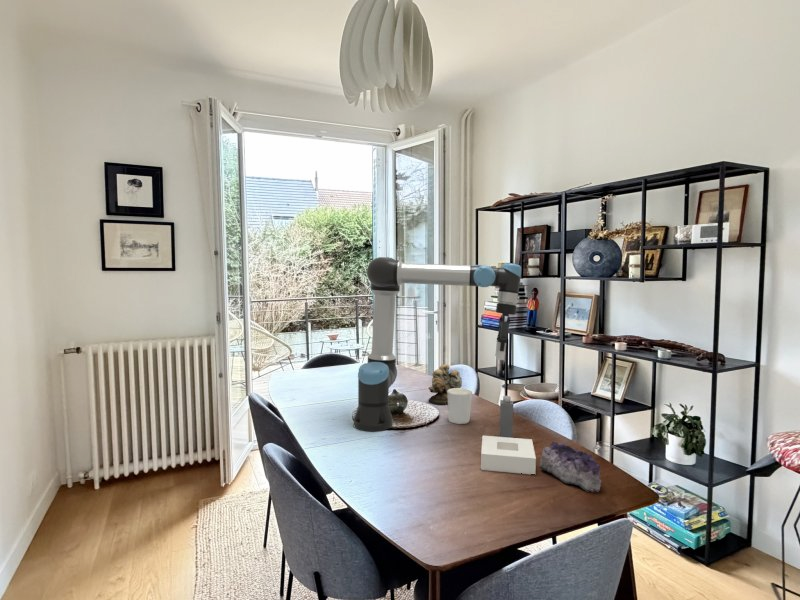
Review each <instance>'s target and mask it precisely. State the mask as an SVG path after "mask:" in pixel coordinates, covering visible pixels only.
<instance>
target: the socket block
mask: <svg viewBox="0 0 800 600" xmlns="http://www.w3.org/2000/svg"><path fill="white" fill-rule="evenodd" d="M480 453H481V454H480V471H488V472H489V471H490V472H500V473H501V472H502V473H511V474H521V473H522V474H521V475H531V474H535V475H536V465H537V457H536V452H535V447H534V443H533V439H532V438H520V437H519V438H516V437H512V438H508V437H499V436H495V435H482V439H481V452H480Z"/></svg>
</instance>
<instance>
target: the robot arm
mask: <svg viewBox="0 0 800 600" xmlns="http://www.w3.org/2000/svg"><path fill="white" fill-rule="evenodd" d="M521 275H522V266H521V265H520V264H515V263H510V262H509V263H508V262H505V263H502V264H501V267H494V266H488V265H481V264H480V265H479V264H472V265H467V264H466V265H462V264H440V263H439V264H436V263H434V264H433V263H411V262H409V263H407V262H403V261H402V260H401V259H400V260H399V259H395V258H392V257H386V256H385V257H383V256H381V257H380V256H378V257H376V258H374V259H372V260H371V261H370V262H369V264H368V266H367V269H366V276H367V278H368V279H367V280H368V281H369V282H370V283H371V285H370V290H371V292H372V294H373V297H374V299H373V301H374V302H373V317H372V319H373V320H372V322H373V323H372V339H371V340H372V343H371V352H370V353H369V355H368V356H367V363H363V364H361V365H360V366H359V368H358V373H357V378H358V382H357V383H358V384H357V387H358V389H357V390H358V392H357V393H358V395H357V398H358V399H357V400H358V403H357V404H358V405H357V407H356V408H357V409H356V411H355V414H354V417H353V427H354V428H355V429H357V430H360V431H365V432H380V431H381V432H382V431H385V430H389V429H391V428H392V427H393V426H392V425H394V420H393V416H392V412H391V409H390V406H389V398H390V397H389V392H390V391H389V390H390V388H391V386H392V385H393V384H394V383H395V381H396V379H397V376H398V369H397V366H396V365H397V363H396V362H397V357H396V355H394V351H393V350H394V349H393V348H394V333H395V332H394V330H395V313H396V312H395V311H396V296H397V294H399V293H400V290H401V289H400V288H401V285H402V284H411V285H412V284H413V285H414V284H415V285H435V286H436V285H437V286H438V285H440V286H460V287H461V286H464V287H480V288H489V287H497V288H498V293H497V300H496V301H497V302H498V303H496V308H495V312H496V313H498V314H501V315H500V317H499V319H498V333H497V340H496V345H495V346H496V348H495V355H494V356H495V357H496V360H499V361H505V356H506V347H507V342H508V333H509V328H510V323H511V319H510V317H511V316H510V315H512V316H513V315H514V316H515V315H516V313H517V303H518V300H520V296H519V291H520V284H521V279H522V278H521V277H522V276H521Z"/></svg>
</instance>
